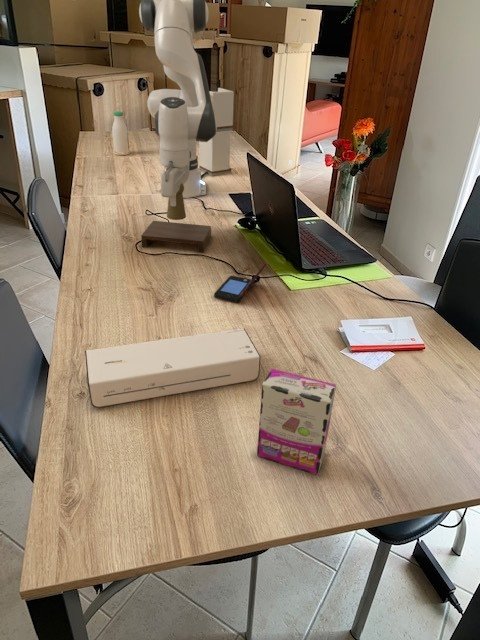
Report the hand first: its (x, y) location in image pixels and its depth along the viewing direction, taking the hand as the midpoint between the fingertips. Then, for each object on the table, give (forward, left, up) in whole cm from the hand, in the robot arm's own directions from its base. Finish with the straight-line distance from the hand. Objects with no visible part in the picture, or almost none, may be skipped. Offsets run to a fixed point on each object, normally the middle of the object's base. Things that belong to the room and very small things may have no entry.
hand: (176, 202), depth 154 cm
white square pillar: (-83, -3, -14) cm, 84 cm away
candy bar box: (+85, +42, -14) cm, 96 cm away
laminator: (+67, +16, -14) cm, 70 cm away
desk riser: (0, 0, -13) cm, 13 cm away
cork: (0, 0, -5) cm, 5 cm away
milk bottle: (-101, -55, -14) cm, 116 cm away
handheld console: (+29, +25, -14) cm, 41 cm away
